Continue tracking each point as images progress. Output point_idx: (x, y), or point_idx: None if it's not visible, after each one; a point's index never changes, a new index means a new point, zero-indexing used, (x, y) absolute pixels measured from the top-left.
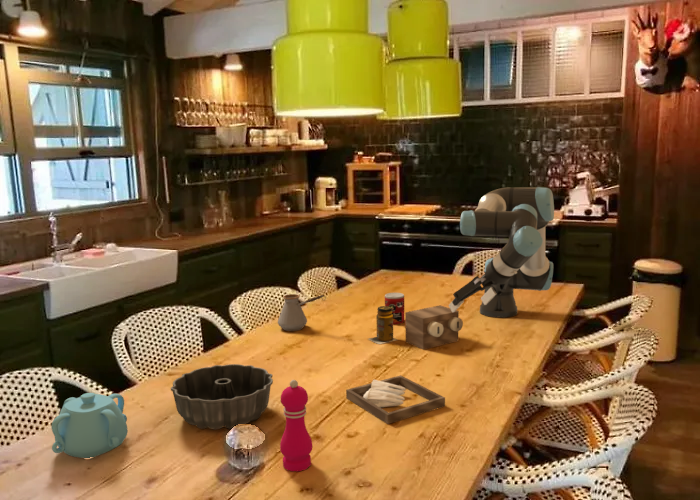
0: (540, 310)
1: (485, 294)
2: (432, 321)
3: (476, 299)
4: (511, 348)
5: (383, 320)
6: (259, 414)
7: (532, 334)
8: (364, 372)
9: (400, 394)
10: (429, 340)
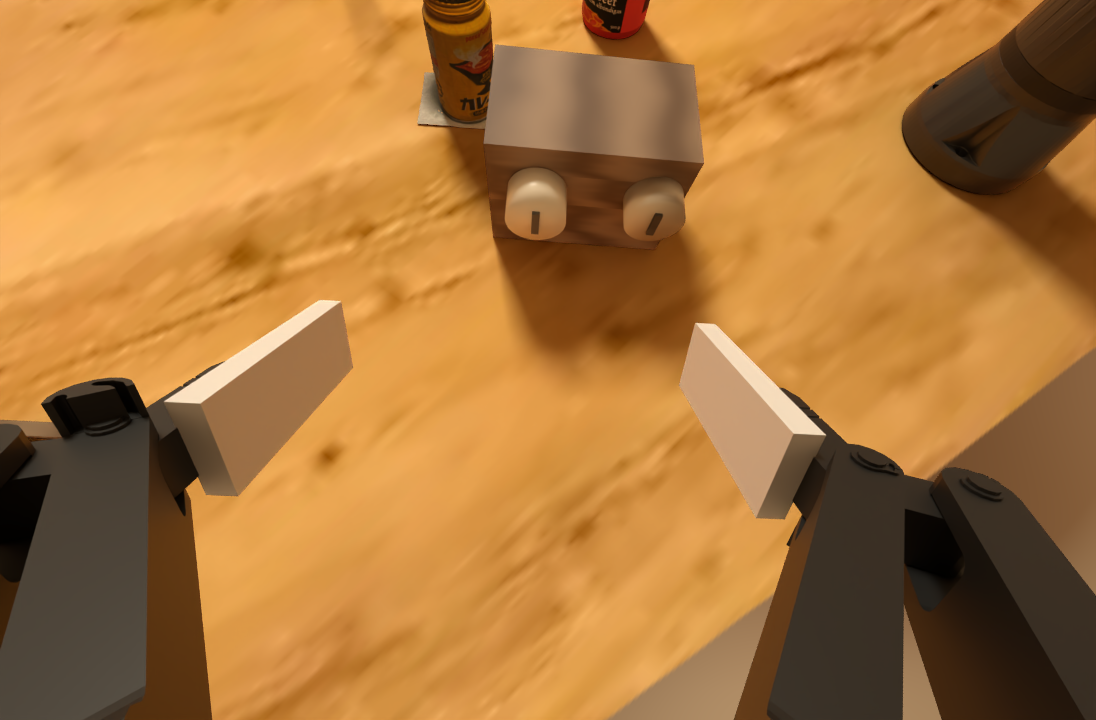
0: None
1: (723, 369)
2: (537, 168)
3: (973, 26)
4: None
5: (431, 36)
6: None
7: (936, 363)
8: (165, 273)
9: None
10: None
